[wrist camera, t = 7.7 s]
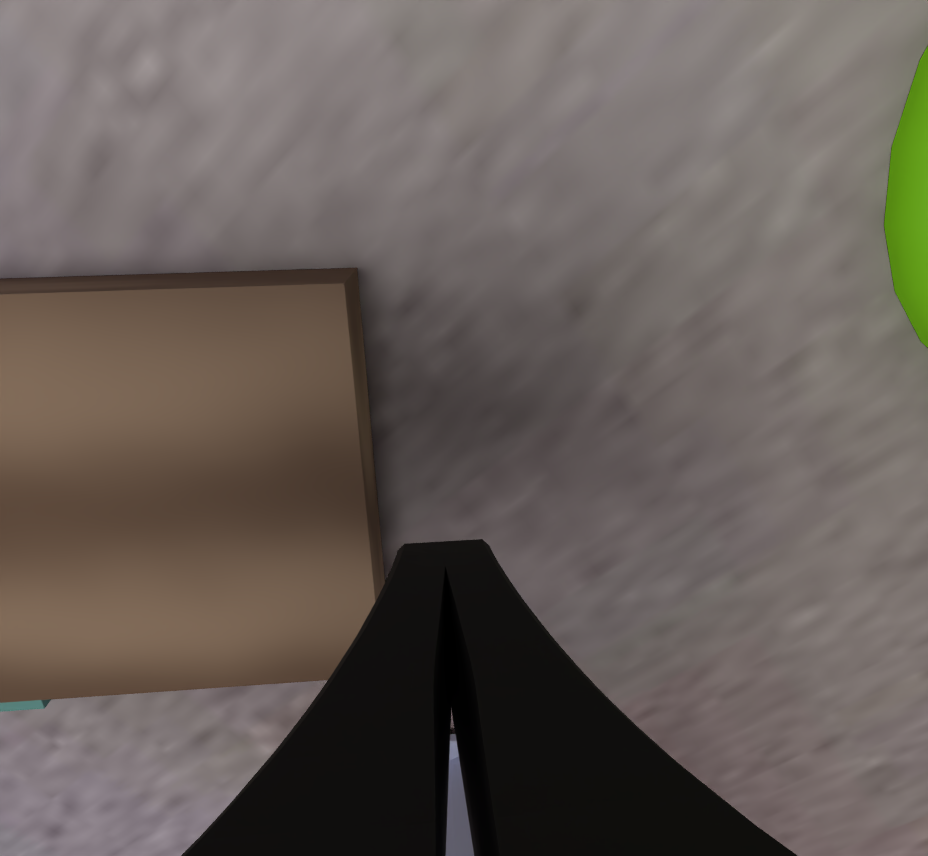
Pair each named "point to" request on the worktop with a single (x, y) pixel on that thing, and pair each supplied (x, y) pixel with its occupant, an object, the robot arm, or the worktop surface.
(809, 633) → the worktop surface
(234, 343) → the brown flat slab
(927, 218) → the wineglass
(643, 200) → the worktop surface
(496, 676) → the robot arm
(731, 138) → the worktop surface
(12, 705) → the mat
